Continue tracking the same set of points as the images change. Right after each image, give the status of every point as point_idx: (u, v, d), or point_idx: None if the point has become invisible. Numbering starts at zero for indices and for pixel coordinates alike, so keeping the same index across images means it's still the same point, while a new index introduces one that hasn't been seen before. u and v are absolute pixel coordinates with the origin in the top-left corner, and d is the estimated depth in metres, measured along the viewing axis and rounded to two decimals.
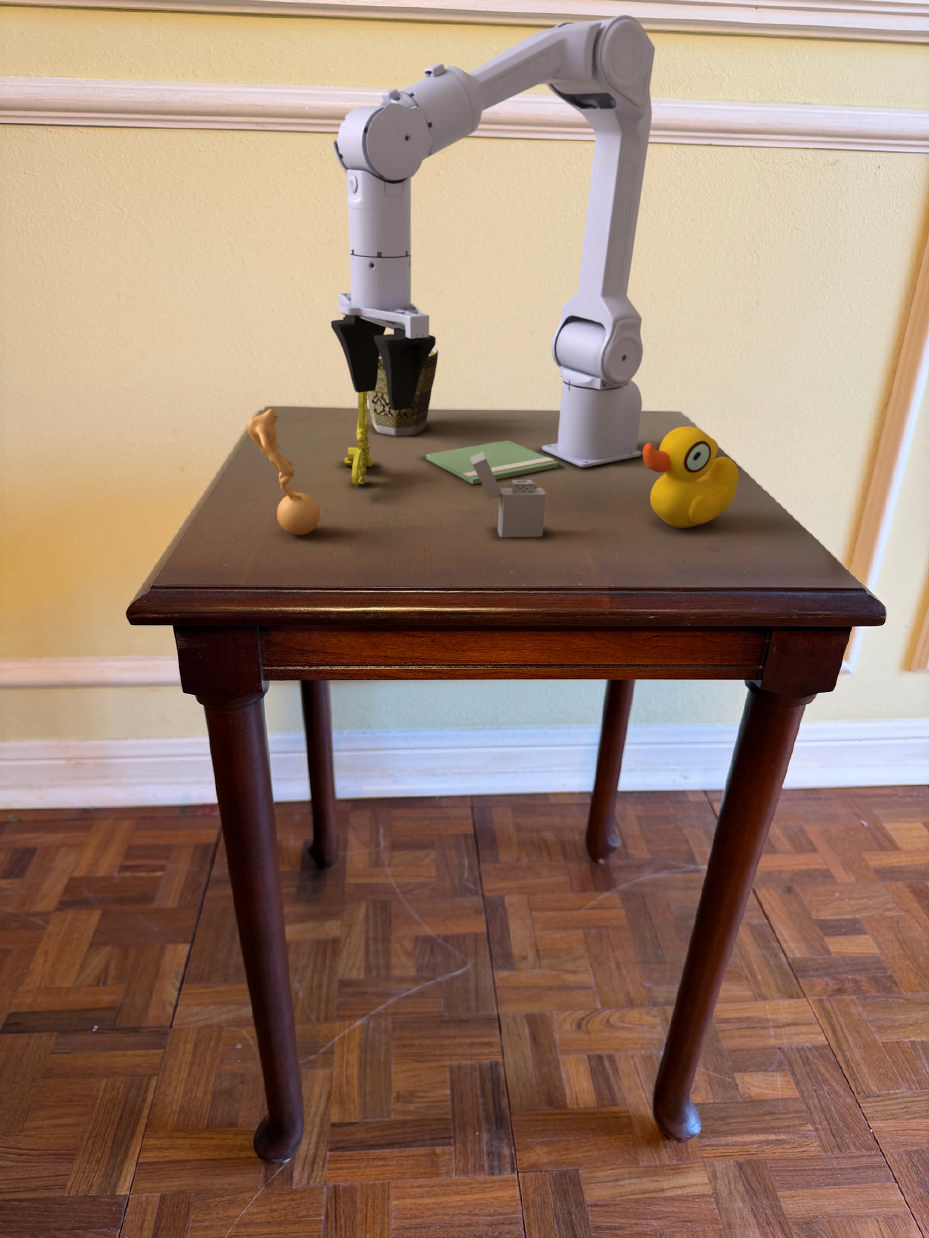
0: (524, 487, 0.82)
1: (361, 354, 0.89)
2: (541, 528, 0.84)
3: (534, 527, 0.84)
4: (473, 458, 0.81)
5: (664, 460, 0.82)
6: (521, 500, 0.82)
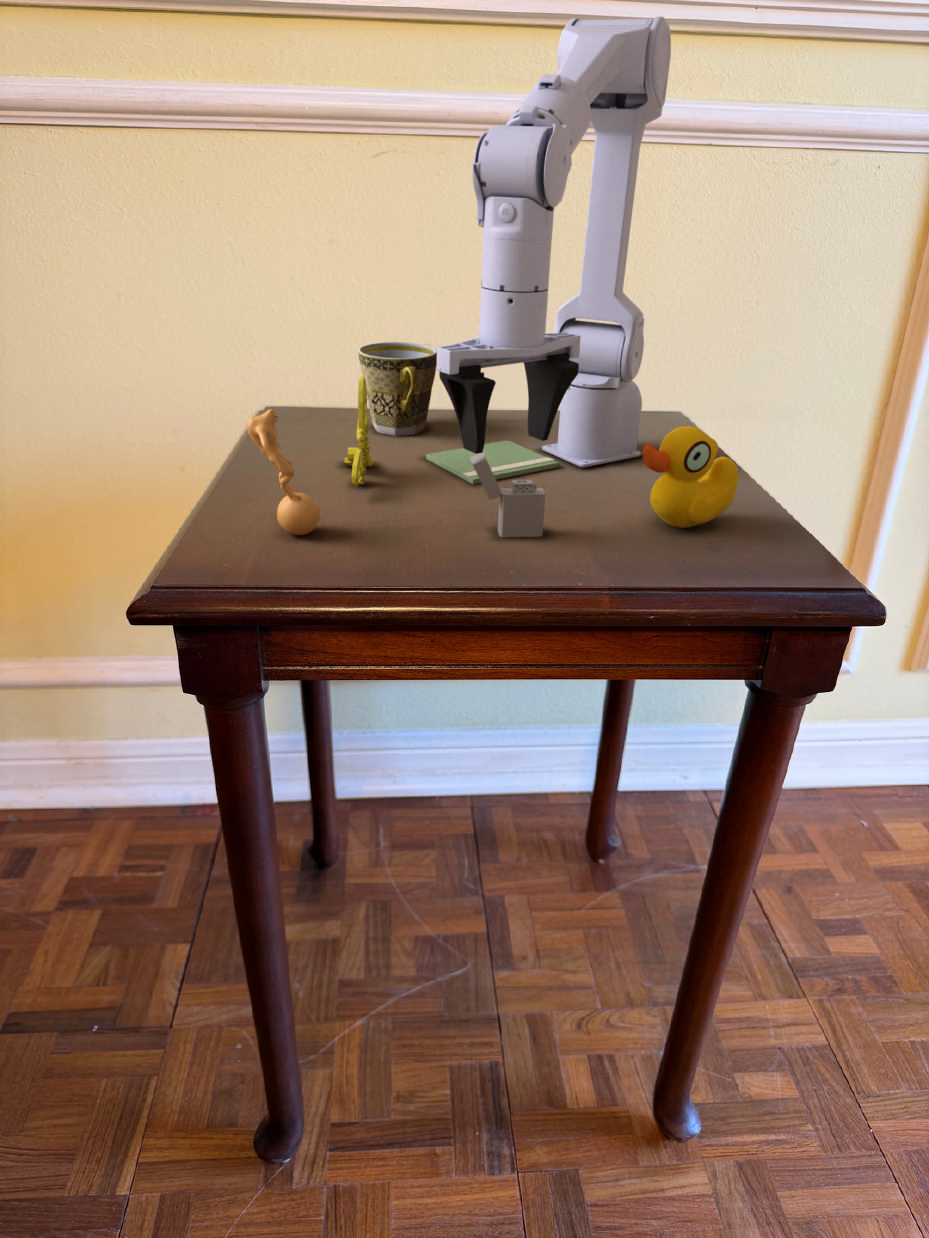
0: (524, 487, 0.82)
1: (537, 397, 0.81)
2: (541, 528, 0.84)
3: (534, 527, 0.84)
4: (473, 458, 0.81)
5: (664, 460, 0.82)
6: (521, 500, 0.82)
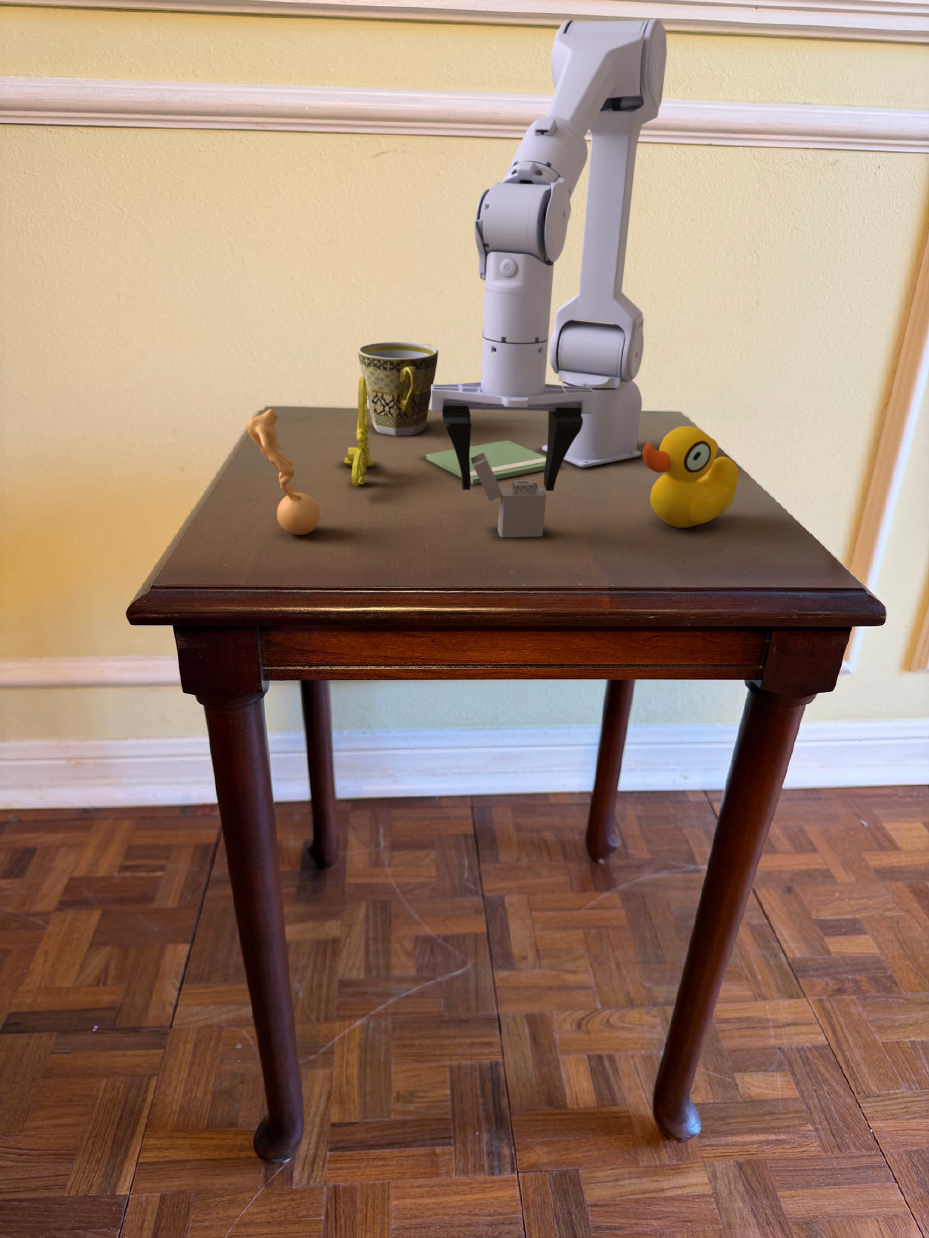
0: (525, 488, 0.82)
1: None
2: (541, 528, 0.84)
3: (534, 528, 0.84)
4: (474, 459, 0.80)
5: (664, 460, 0.82)
6: (521, 501, 0.82)
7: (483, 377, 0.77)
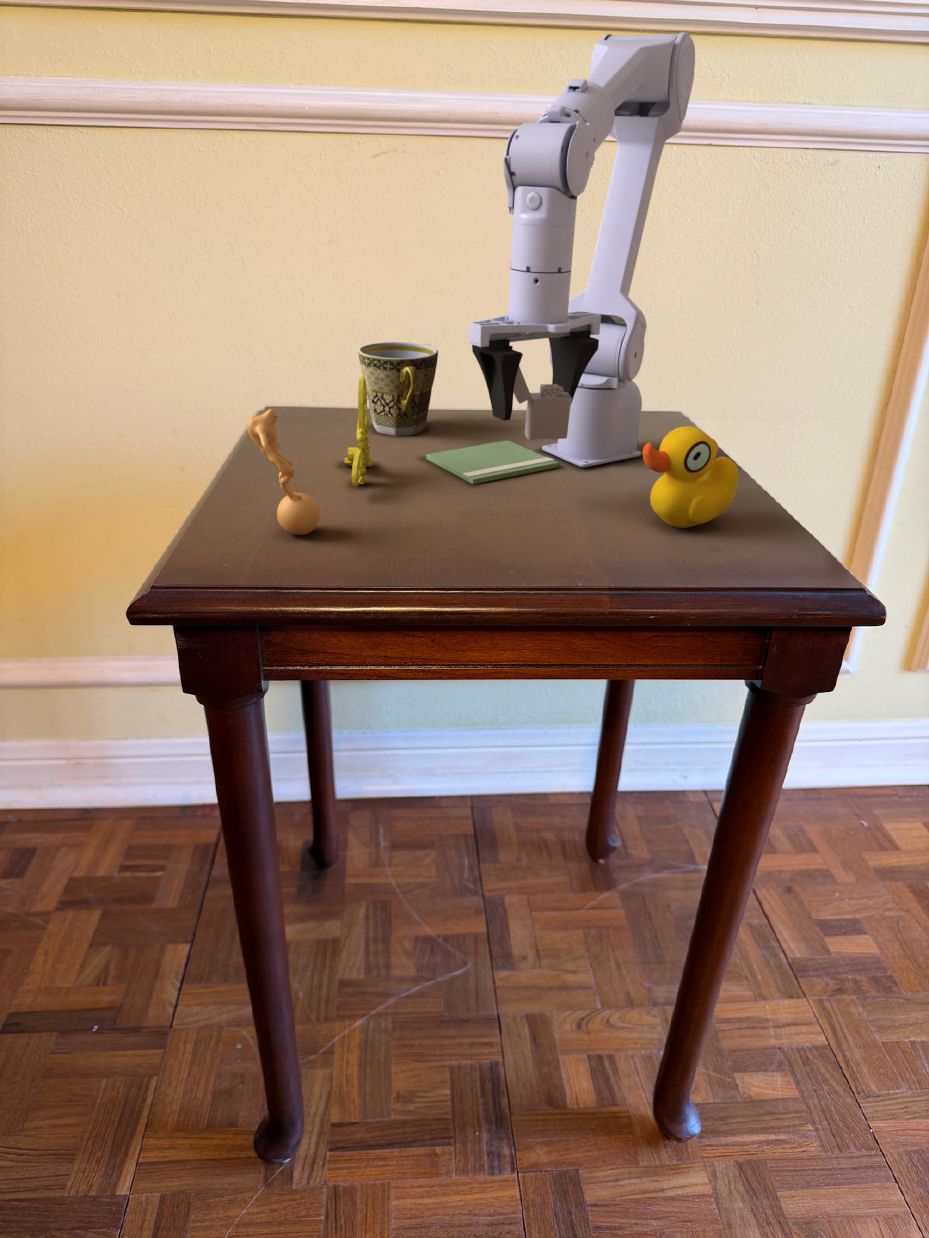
0: (552, 391, 0.87)
1: None
2: (566, 431, 0.89)
3: (560, 430, 0.89)
4: None
5: (664, 460, 0.82)
6: (549, 403, 0.87)
7: (520, 309, 0.82)
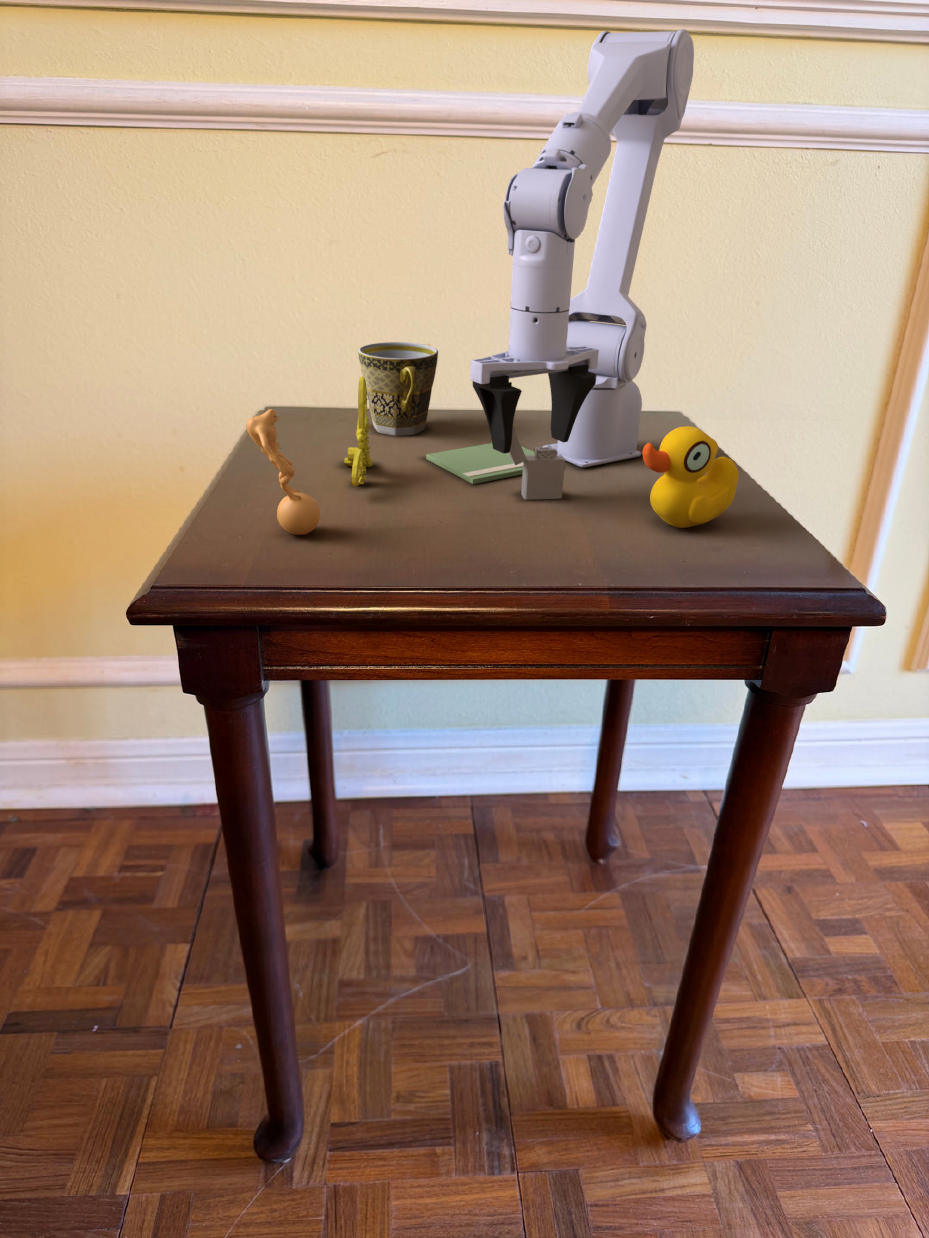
0: (546, 453, 0.91)
1: None
2: (561, 491, 0.93)
3: (555, 490, 0.93)
4: None
5: (664, 460, 0.82)
6: (543, 465, 0.92)
7: (520, 347, 0.84)
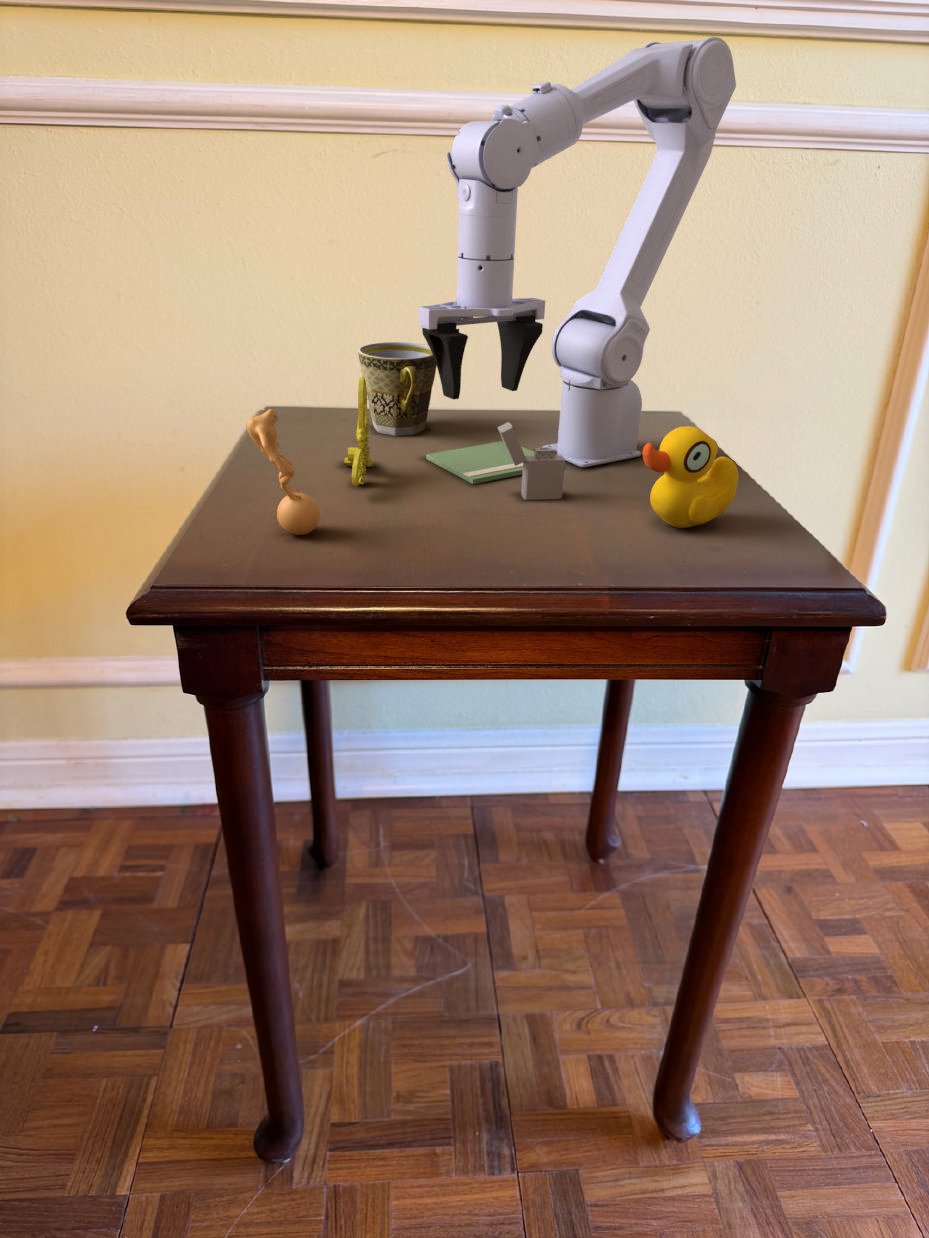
0: (546, 454, 0.91)
1: None
2: (561, 491, 0.93)
3: (555, 490, 0.93)
4: (500, 427, 0.90)
5: (664, 460, 0.82)
6: (543, 465, 0.92)
7: (467, 294, 0.88)
